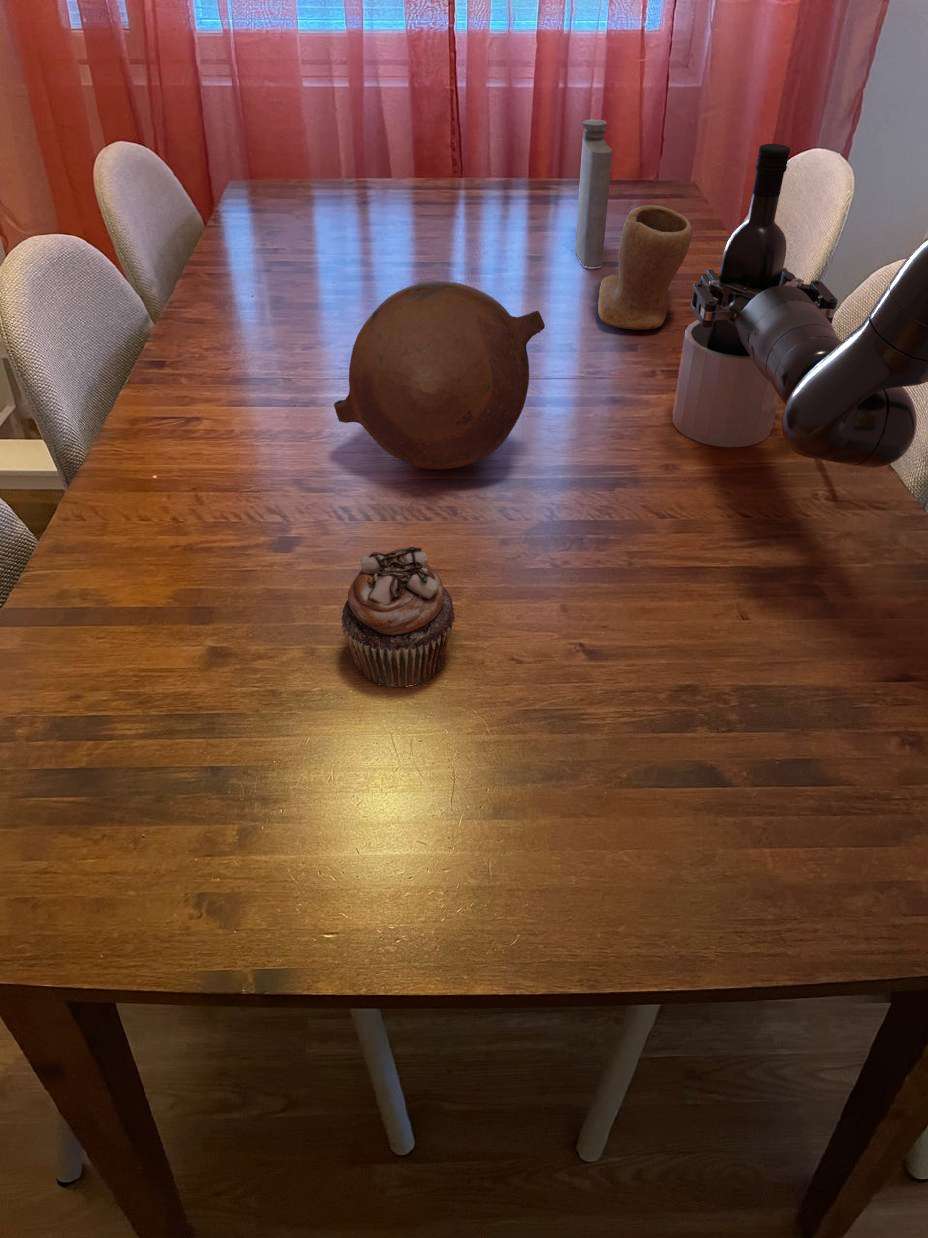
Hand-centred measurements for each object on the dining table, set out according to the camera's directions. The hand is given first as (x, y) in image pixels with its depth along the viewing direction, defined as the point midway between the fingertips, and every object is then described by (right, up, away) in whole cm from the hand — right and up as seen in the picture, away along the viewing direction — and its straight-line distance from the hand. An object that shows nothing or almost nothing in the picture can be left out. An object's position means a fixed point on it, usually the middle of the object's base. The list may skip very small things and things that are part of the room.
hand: (743, 277), depth 105 cm
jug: (-33, -16, +8) cm, 37 cm away
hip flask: (-10, +24, +54) cm, 60 cm away
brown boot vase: (-6, +7, +34) cm, 35 cm away
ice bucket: (0, -14, +9) cm, 17 cm away
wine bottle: (0, -14, +9) cm, 16 cm away
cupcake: (-37, -41, -22) cm, 59 cm away
